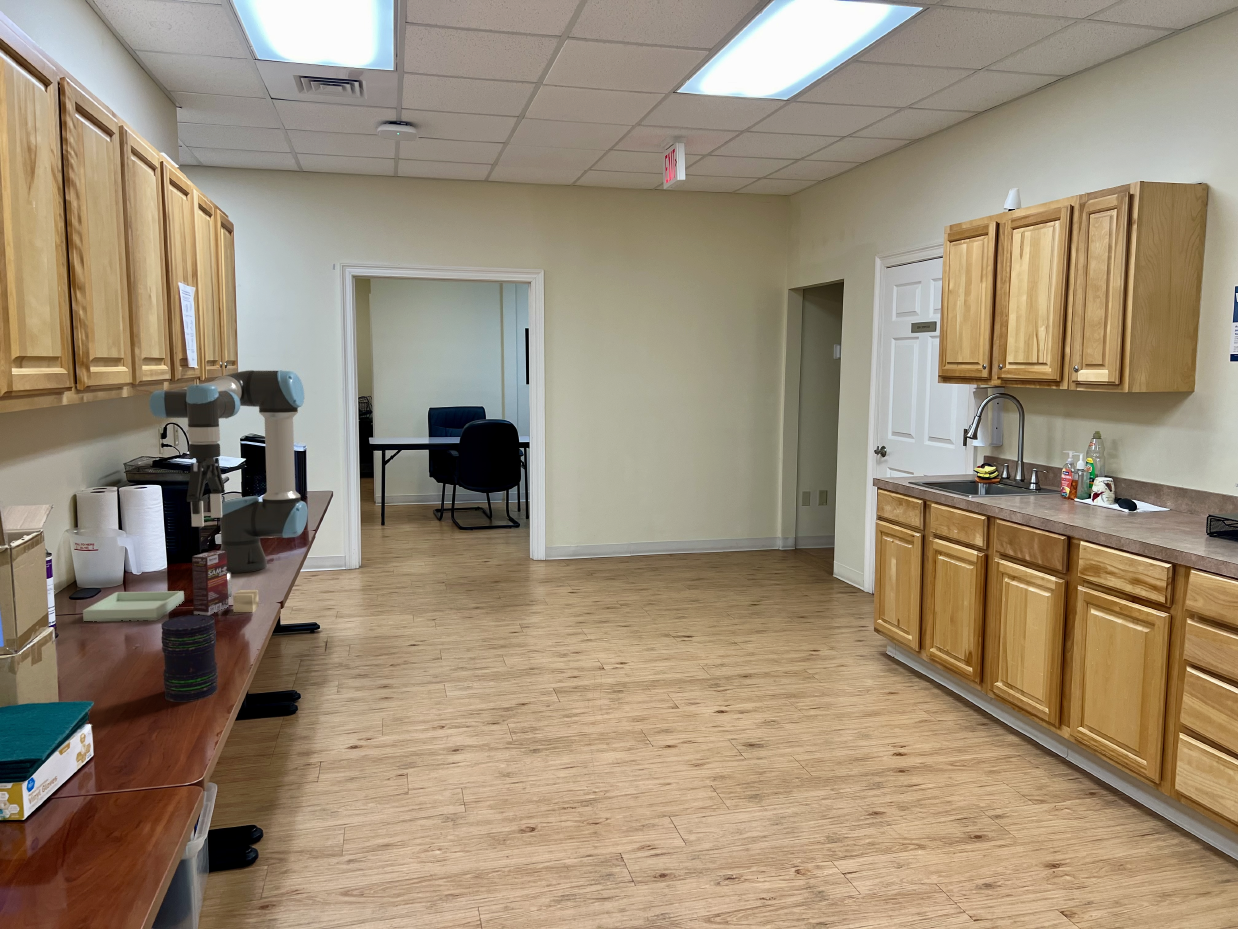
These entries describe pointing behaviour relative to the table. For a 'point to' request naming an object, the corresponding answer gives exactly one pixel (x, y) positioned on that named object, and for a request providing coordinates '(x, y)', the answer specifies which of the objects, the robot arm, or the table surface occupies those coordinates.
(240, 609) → the maple block
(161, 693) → the table surface
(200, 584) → the supplement box
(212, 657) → the storage jar
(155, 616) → the sage tray
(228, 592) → the metal cylinder
